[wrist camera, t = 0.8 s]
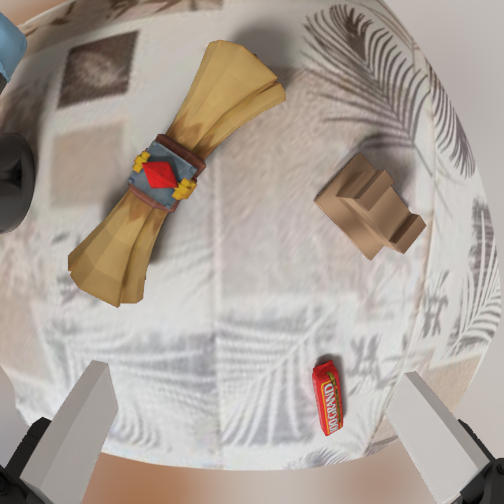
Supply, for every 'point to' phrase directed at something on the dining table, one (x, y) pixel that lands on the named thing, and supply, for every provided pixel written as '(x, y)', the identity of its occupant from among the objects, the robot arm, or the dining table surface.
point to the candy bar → (328, 397)
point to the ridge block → (369, 209)
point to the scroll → (172, 171)
